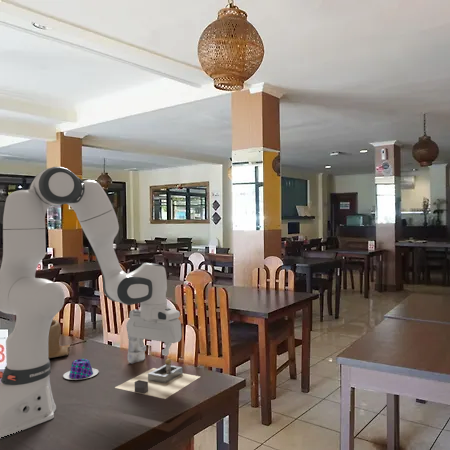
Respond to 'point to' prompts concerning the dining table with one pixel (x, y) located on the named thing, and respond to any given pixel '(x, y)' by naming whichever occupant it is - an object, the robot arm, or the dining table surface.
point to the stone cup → (56, 341)
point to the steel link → (159, 377)
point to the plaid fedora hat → (80, 370)
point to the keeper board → (157, 383)
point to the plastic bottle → (134, 350)
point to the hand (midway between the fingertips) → (153, 353)
